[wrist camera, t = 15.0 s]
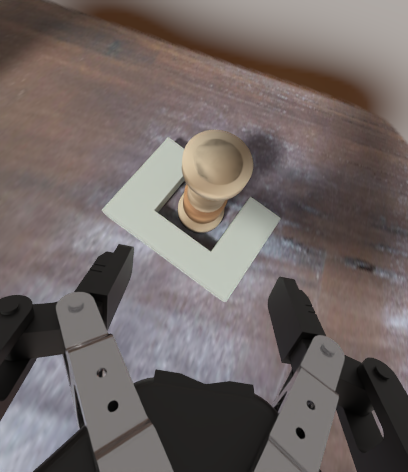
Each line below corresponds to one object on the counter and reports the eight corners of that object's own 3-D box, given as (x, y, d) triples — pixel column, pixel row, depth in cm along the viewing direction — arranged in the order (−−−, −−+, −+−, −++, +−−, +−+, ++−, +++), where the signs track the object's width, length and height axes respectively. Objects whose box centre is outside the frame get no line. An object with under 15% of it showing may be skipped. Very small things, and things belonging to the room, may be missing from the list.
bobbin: (168, 214, 30) (167, 165, 18) (195, 182, 31) (209, 117, 20) (205, 241, 30) (227, 209, 18) (230, 207, 31) (266, 157, 20)
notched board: (106, 215, 29) (101, 210, 27) (168, 146, 32) (168, 137, 30) (222, 301, 28) (226, 302, 27) (274, 222, 32) (280, 218, 30)
